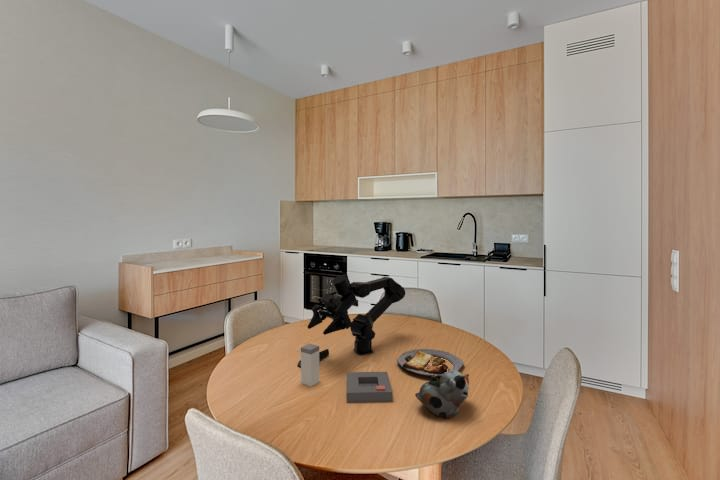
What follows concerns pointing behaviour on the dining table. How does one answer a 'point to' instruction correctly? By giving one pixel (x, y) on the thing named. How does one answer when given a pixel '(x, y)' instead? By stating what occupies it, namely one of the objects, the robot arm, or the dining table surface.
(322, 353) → the electric trimmer
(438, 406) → the lucky cat figurine
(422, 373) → the food plate
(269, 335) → the dining table surface
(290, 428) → the dining table surface
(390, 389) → the grey slotted slab
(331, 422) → the dining table surface
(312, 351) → the grey rectangular block
